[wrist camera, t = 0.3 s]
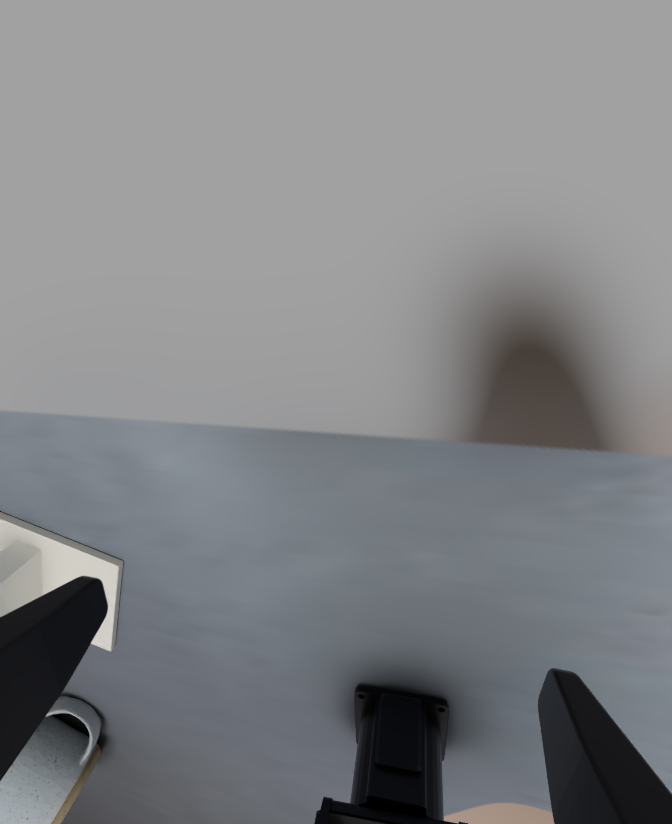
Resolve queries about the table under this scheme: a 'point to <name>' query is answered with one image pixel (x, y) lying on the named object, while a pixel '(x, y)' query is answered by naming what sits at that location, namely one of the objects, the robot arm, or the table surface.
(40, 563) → the tile
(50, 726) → the ceramic mug
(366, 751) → the robot arm
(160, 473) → the table surface
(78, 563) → the mat
